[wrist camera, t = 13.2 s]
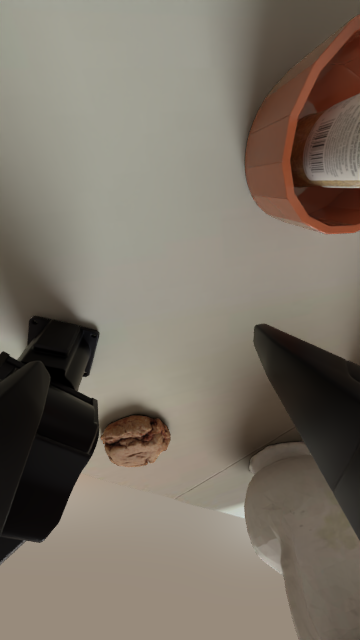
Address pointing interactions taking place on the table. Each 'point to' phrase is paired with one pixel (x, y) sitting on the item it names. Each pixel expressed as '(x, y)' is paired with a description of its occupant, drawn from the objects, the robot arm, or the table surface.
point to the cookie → (135, 440)
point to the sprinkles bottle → (328, 147)
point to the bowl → (279, 131)
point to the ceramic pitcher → (305, 541)
